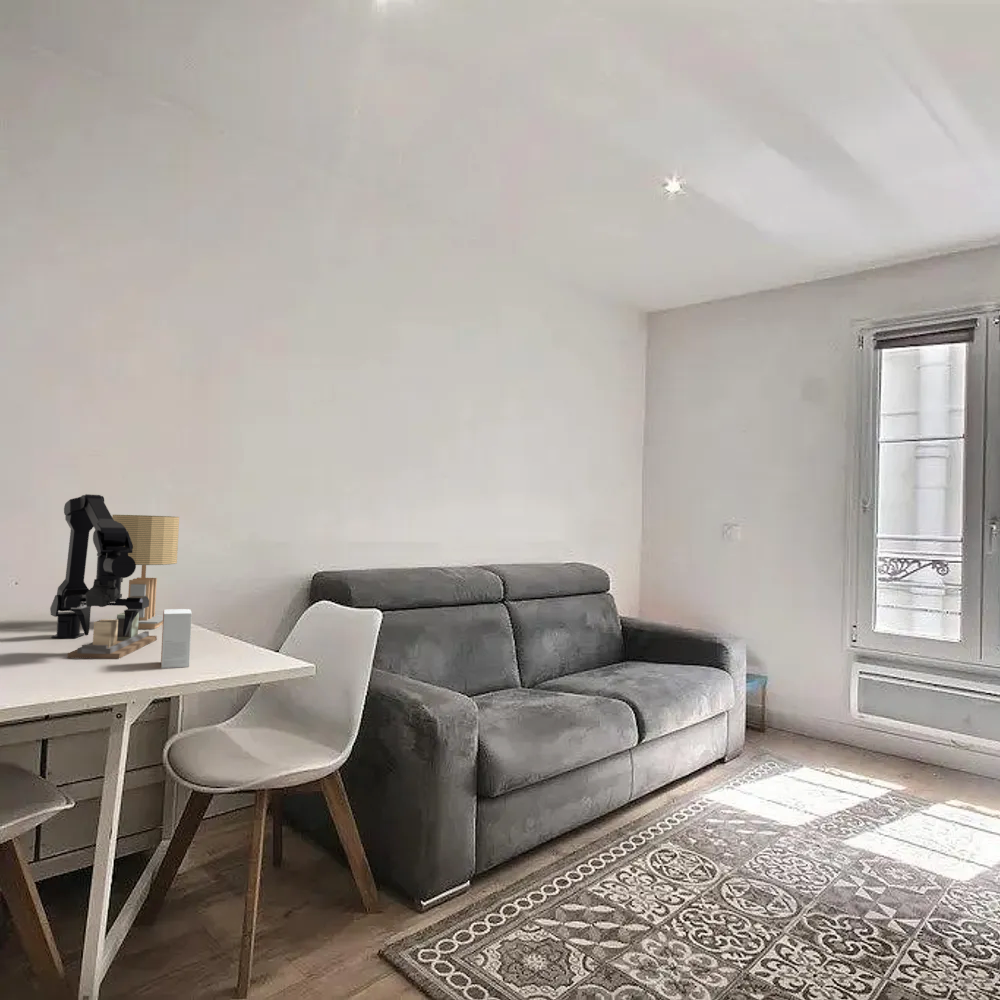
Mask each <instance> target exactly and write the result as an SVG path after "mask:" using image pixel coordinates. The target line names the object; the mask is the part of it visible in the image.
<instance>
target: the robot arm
mask: <svg viewBox="0 0 1000 1000" xmlns="http://www.w3.org/2000/svg"><path fill="white" fill-rule="evenodd" d="M63 513H64V516H65V517H64V518H65V519H64V520H65V521H66V523H67V524H68V526H69V528H70V532H69V533H70V535H69V543H68V553H67V559H66V560H67V561H66V562H67V563H66V570H65V578H64V580H63V581H62V582H61V583H60V585H59V586H58V587H57V589H56V590H57V592H56V595H54V598H53V600H52V602H51V606H50V608H49V609H50V611H49V612H50V616H52V617H55V618H57V622H56V624H57V625H56V634H54V635H51V636H50V638H52V639H53V638H55V639H57V638H58V639H76V638H78V637H82V636H89V633H90V629H91V628H90V624H91V609H92V607H100V608H105V607H107V606H117V607H118V606H124V607H126V609H124V610H123V612H124V613H125V620H124V627H123V636H126V635H127V632H128V630H129V628H130V626H131V624H132V622H133V620H134V618H135V617H136V615H137V614H138V612H139V611H142V610H143V608H146V607H149V599H148V597H147V596H131V597H126V598H122V597H123V596H122V595H123V593H121V592H122V591H121V590H122V589H121V588H122V583H123V581H124V579H125V578H129V577H131V576H132V575H133V574H134V573H135V572H136V567H137V565H136V564H135V561H134V559H133V558H132V557H130V556H128V553H132V549H133V544H132V541H131V538H130V536H129V533H128V531H127V530H126V528H125V527H124V526H123V525H122V524H121V523H119V522H116V521H114V520H113V518H112V514H111V513H110V511H109V509H108V507H107V505H106V503H105V498H104V495H102V494H87V493H86V494H82V495H81V496H79V497H75V498H71V499H69V500H67V501H66V502H65V503H64V507H63ZM92 529H94V531H93V534H92V542H93V545H94V547H95V550H96V552H97V553H96V556H97V561H96V576H95V578H94V580H93V585H92V587H91V588H90V589H89V588H88V587H87V584H86V583H85V573H86V564H87V557H88V548H89V547H88V546H89V539H90V538H89V537H90V532H91V531H92ZM124 546H125V547H124ZM81 627H82V631H83V632H81Z"/></svg>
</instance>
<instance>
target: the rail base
mask: <svg viewBox="0 0 1000 1000" xmlns="http://www.w3.org/2000/svg"><path fill="white" fill-rule="evenodd" d="M116 619H117V620H118V633H117V644H116V645H114V646H111V647H109V648H108V645H93V641H92V642H90V643H87V644H82V645H81V647H77V648H76V649H75V650H72V651H70V652H68V653H67V656H66V657H67V659H108V660H111V659H112V660H113V659H115V660H116V659H117V660H119V658H120V659H122V658H124V657H125V656H127V655H129V654H132V653H133V652H135V651H138V650H139V649H141V648H143V647H146V646H147V645H150V644H151V643H153V642H155V641H157V637H158V636H157V635H150V631H145V630H144V631H143V632H141V633H139V629H138V621H139V613H138V614H137V615H136V617H135V618H134V620H133V622H132V624H131V626H130V628H129V630H128V632H127V635H126V636H123V627H124V620H125V613H124V611H122V612H121V613H118V614H116ZM123 656H124V657H123ZM121 657H122V658H121Z"/></svg>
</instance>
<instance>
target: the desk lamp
mask: <svg viewBox="0 0 1000 1000" xmlns="http://www.w3.org/2000/svg"><path fill="white" fill-rule="evenodd" d="M111 516H112V518H113V520H114V521H116V522H119V523H121V524H122V525H123V526H124V527H125V528H126V530H127V531H128V533H129V536H130V538H131V541H132V544H133V549H132V553H128V556H130V557H132V558H133V559H134V561H135V564H136V566H141V574H140V575H141V576H140V577H136V578H132V579H129V580H128V593H127V594H128V597H131V596H147V597H148V599H149V607H146V608H143V610H142V611H139V612H138V613H139V621H138V630H156V629H157V628H158V627H160V626H163V614H156V598H157V582H158V578H157V577H147V576H146V575H147V566H166V565H169V566H170V565H176V564H178V549H179V548H178V547H179V530H180V529H179V528H180V516H170V515H169V516H168V515H166V516H165V515H143V514H142V515H141V514H139V515H137V514H111ZM124 547H125V546H124ZM128 597H127V598H128ZM114 620H117V618H115V619H114Z"/></svg>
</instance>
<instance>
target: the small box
mask: <svg viewBox="0 0 1000 1000" xmlns="http://www.w3.org/2000/svg"><path fill="white" fill-rule="evenodd" d="M162 612H163V613H162V615H163V624H162V631H161V632H162V633H161V652H160V654H161V655H160V656H161V657H160V661H161V663H160V668H161V669H171V668H172V669H173V668H174V669H175V668H189V667H190V663H191V662H190V661H191V659H190V658H191V639H192V637H191V635H192V619H193V618H192V615H193V613H192V610H191V608H190V609H189V608H169V609H167V608H166V609H163V611H162Z"/></svg>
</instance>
